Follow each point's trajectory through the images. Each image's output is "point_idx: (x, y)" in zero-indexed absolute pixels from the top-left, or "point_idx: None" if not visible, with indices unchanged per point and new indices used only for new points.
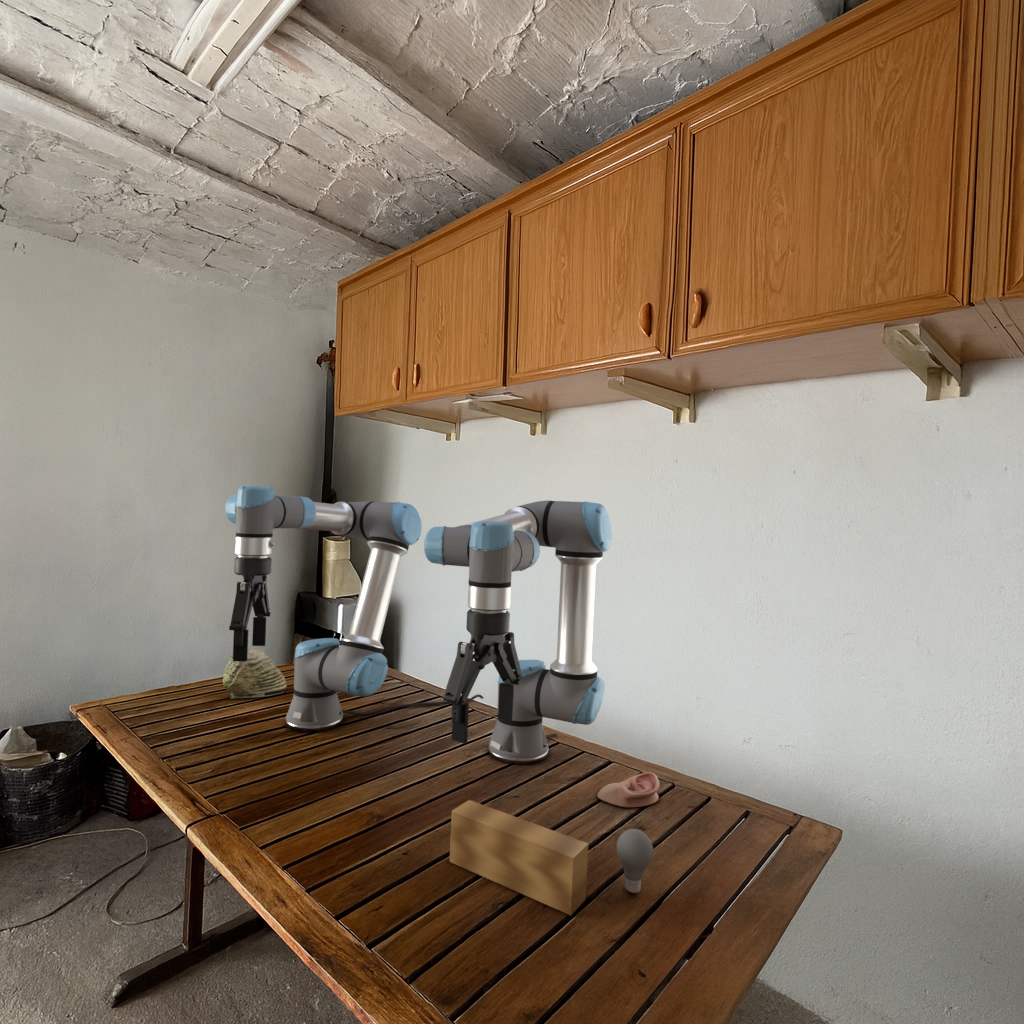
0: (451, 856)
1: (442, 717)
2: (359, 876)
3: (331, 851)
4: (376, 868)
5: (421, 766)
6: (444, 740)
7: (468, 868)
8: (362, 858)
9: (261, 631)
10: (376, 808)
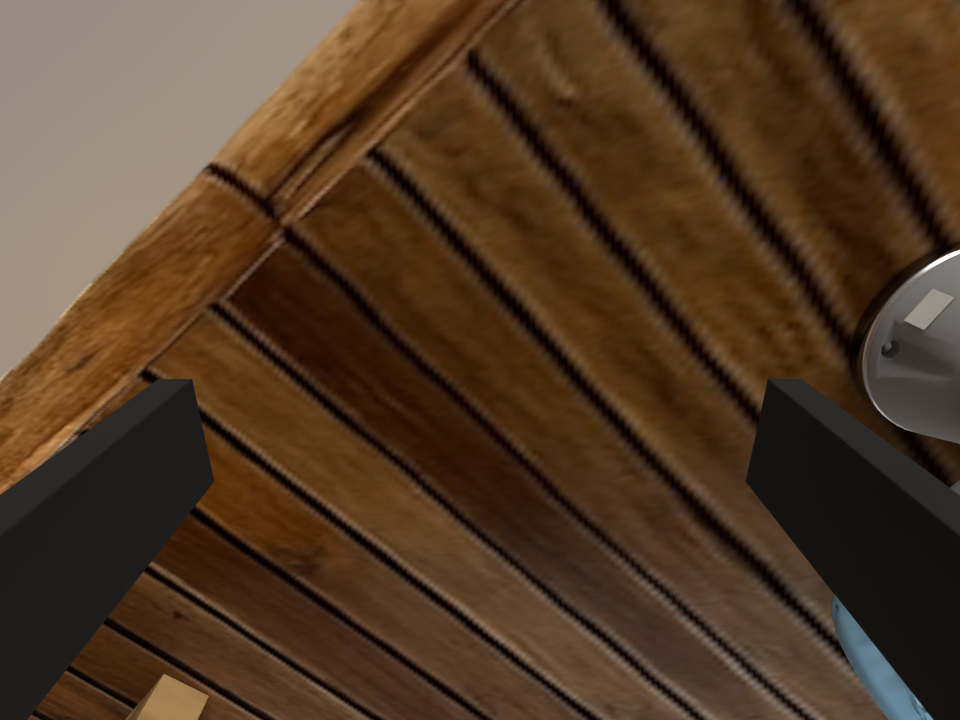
0: (156, 685)
1: None
2: None
3: None
4: None
5: (556, 628)
6: (712, 668)
7: (143, 698)
8: None
9: (840, 553)
10: (342, 560)
